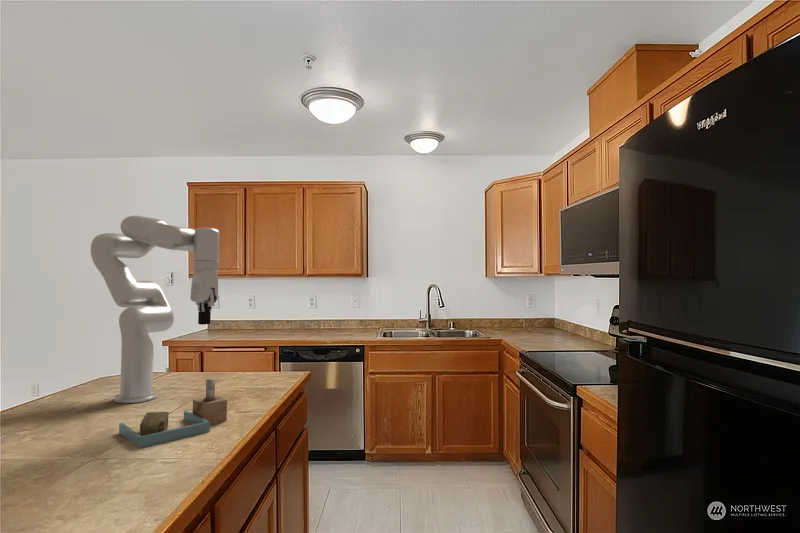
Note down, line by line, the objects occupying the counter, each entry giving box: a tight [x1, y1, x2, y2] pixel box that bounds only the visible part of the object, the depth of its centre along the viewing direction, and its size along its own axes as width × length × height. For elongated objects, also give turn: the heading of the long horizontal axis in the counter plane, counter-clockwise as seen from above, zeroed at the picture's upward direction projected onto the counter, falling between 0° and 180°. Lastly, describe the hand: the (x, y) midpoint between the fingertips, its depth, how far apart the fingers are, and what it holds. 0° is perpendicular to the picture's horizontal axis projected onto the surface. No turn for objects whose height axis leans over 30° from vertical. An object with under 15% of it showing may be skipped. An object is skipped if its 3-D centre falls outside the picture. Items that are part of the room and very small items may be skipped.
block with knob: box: [192, 377, 228, 425], centre depth 133 cm, size 7×7×12 cm
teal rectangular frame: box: [118, 410, 211, 449], centre depth 122 cm, size 15×18×2 cm
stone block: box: [139, 411, 169, 436], centre depth 120 cm, size 6×12×5 cm, turn 22°
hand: (204, 324), depth 143 cm, fingers closed
